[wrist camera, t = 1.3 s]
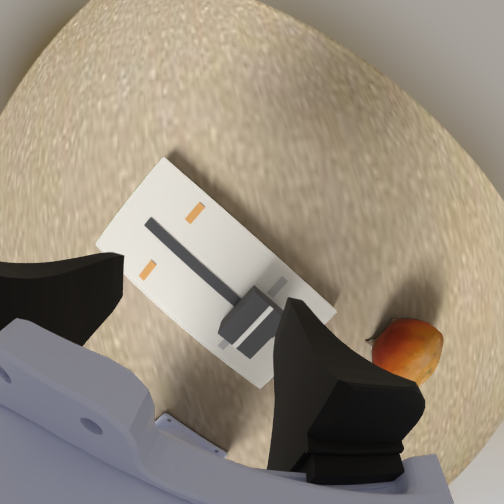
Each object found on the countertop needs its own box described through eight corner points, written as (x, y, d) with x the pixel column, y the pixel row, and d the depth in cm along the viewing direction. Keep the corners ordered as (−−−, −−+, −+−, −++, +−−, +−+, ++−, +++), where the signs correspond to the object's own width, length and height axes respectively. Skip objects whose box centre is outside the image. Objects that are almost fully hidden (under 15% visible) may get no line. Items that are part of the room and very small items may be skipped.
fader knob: (282, 309, 26) (287, 321, 23) (250, 344, 26) (250, 359, 23) (254, 284, 26) (254, 293, 22) (221, 320, 26) (217, 333, 23)
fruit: (391, 288, 27) (451, 329, 20) (409, 315, 31) (456, 350, 24) (339, 350, 27) (391, 401, 20) (366, 366, 31) (408, 407, 25)
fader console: (333, 307, 28) (337, 311, 26) (259, 382, 28) (260, 389, 27) (167, 160, 27) (163, 156, 25) (101, 243, 27) (94, 244, 26)
